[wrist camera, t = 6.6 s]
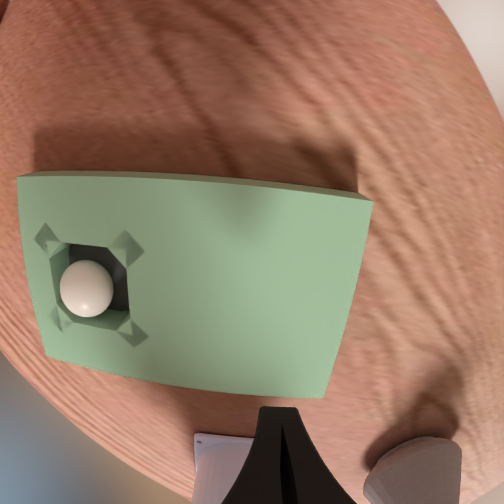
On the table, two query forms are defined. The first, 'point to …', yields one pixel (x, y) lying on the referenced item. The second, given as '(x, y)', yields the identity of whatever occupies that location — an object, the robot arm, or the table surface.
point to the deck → (197, 276)
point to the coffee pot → (417, 473)
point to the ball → (86, 288)
